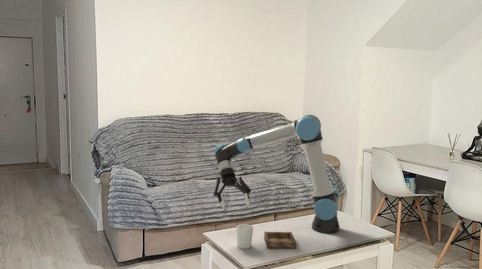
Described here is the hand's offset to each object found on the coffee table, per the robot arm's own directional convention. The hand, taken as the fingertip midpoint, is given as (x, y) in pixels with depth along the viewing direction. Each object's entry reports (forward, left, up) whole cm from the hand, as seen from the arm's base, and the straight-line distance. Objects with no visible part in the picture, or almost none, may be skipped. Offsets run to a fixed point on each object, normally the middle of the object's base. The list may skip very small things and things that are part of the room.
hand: (236, 206), depth 220 cm
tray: (-22, +6, -17) cm, 28 cm away
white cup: (-4, +10, -17) cm, 20 cm away
